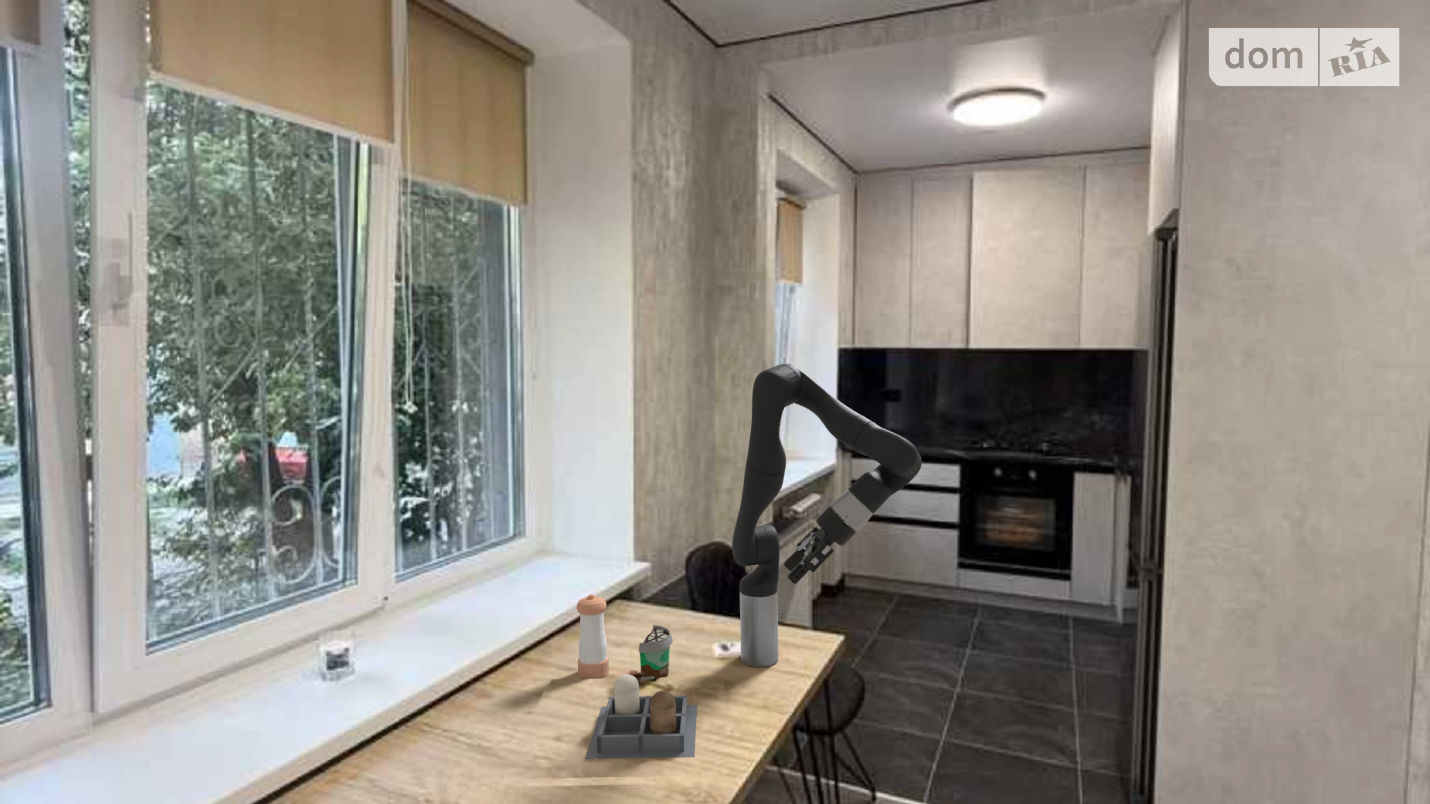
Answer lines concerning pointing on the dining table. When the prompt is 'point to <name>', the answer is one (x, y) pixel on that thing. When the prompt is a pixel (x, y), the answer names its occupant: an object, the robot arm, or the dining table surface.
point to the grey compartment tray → (642, 733)
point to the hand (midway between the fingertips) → (788, 574)
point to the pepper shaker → (592, 639)
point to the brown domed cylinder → (662, 713)
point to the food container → (655, 653)
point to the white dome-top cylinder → (627, 696)
